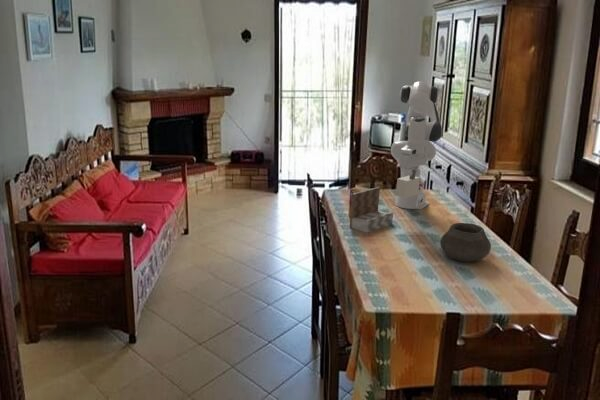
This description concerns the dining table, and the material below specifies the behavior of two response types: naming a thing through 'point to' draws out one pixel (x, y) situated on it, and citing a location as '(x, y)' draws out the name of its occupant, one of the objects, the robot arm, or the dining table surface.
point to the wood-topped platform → (368, 211)
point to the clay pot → (465, 242)
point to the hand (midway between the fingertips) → (412, 174)
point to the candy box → (352, 190)
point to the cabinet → (408, 185)
